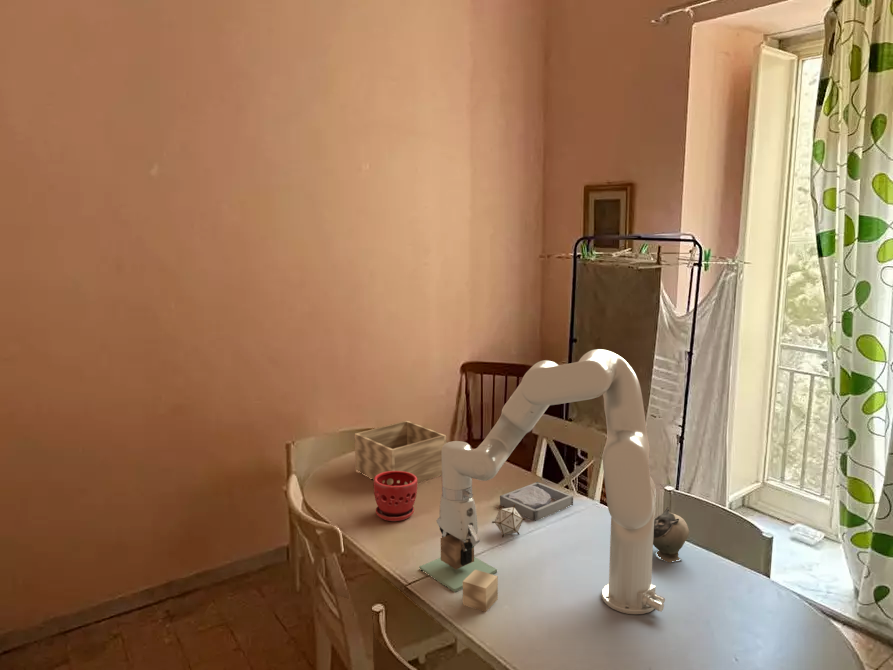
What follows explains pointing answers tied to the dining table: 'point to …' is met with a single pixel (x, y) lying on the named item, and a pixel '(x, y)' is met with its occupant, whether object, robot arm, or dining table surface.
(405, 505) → the plant pot
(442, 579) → the mat
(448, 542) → the walnut cube
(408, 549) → the dining table surface
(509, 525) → the game die
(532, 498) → the stone block
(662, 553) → the brown round clay figure
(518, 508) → the slate tray
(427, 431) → the wooden crate
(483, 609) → the oak cube
